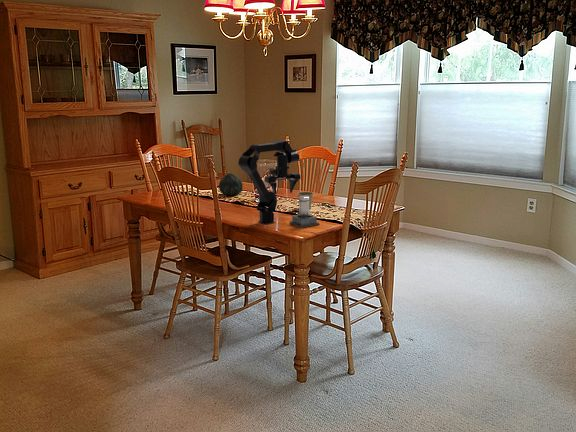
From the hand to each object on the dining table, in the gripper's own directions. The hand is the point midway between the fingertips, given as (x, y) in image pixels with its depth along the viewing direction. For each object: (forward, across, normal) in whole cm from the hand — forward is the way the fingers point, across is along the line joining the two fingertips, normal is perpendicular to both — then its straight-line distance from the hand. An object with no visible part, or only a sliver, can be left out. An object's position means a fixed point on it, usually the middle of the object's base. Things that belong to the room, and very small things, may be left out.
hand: (283, 193), depth 306 cm
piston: (+12, -3, +17) cm, 21 cm away
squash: (+14, 0, -73) cm, 74 cm away
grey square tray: (+13, -3, +17) cm, 22 cm away
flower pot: (+14, -22, -14) cm, 29 cm away
